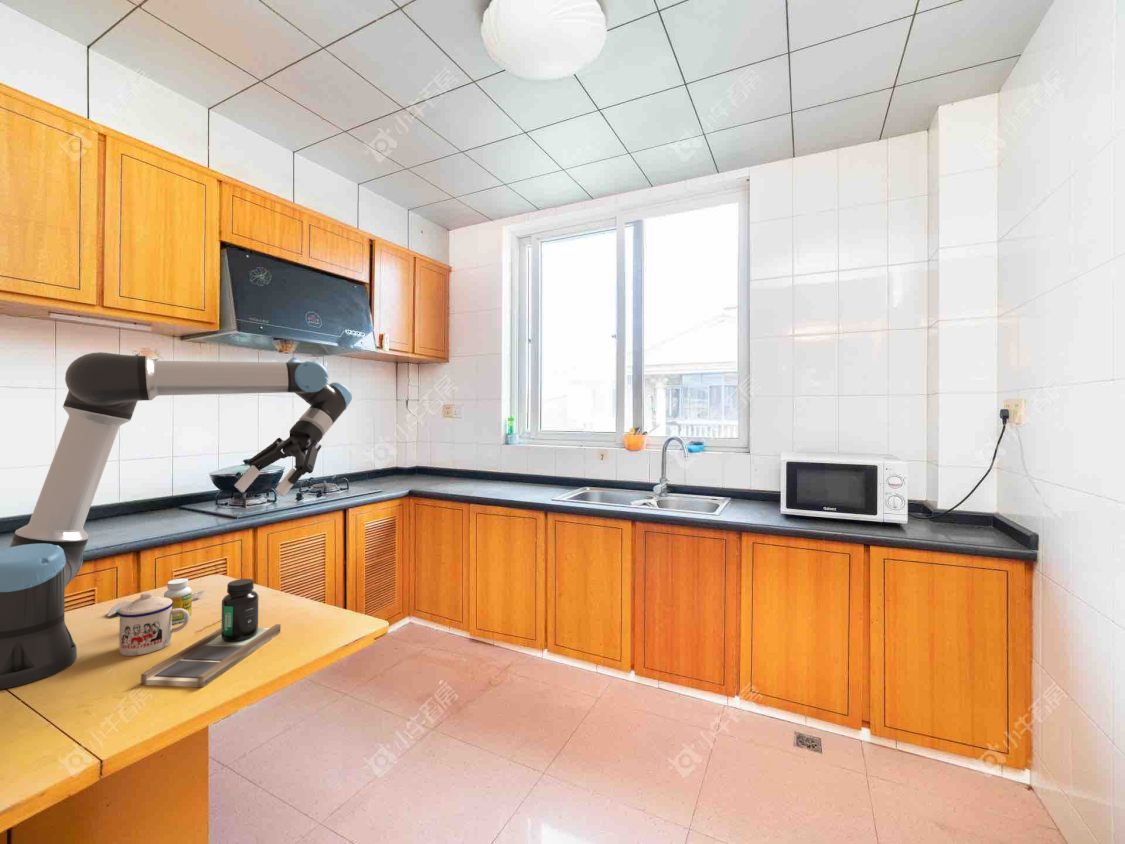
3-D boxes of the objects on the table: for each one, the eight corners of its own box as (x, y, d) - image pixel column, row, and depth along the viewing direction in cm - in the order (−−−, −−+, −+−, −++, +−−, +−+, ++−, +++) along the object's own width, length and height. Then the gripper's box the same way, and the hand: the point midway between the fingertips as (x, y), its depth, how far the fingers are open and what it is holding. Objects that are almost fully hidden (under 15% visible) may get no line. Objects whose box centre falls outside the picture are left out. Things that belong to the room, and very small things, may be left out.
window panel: (141, 684, 92) (141, 674, 92) (230, 631, 115) (230, 622, 115) (203, 687, 91) (203, 676, 91) (280, 632, 114) (280, 624, 114)
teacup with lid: (111, 660, 101) (111, 603, 100) (125, 642, 109) (125, 589, 109) (184, 648, 106) (184, 594, 106) (193, 632, 114) (193, 581, 114)
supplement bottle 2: (227, 646, 105) (227, 589, 105) (216, 636, 109) (217, 582, 109) (262, 635, 110) (263, 581, 110) (251, 626, 115) (252, 575, 114)
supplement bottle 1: (171, 616, 123) (171, 578, 123) (195, 614, 124) (196, 576, 124) (158, 625, 118) (158, 585, 117) (184, 623, 119) (184, 583, 119)
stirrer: (203, 581, 138) (205, 585, 134) (203, 594, 138) (206, 598, 135) (105, 603, 124) (105, 609, 121) (106, 617, 124) (106, 623, 121)
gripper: (354, 439, 132) (306, 504, 118) (284, 436, 141) (232, 496, 127) (339, 419, 127) (287, 484, 113) (268, 417, 136) (212, 478, 122)
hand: (258, 491), depth 120 cm, fingers open, 13 cm apart
